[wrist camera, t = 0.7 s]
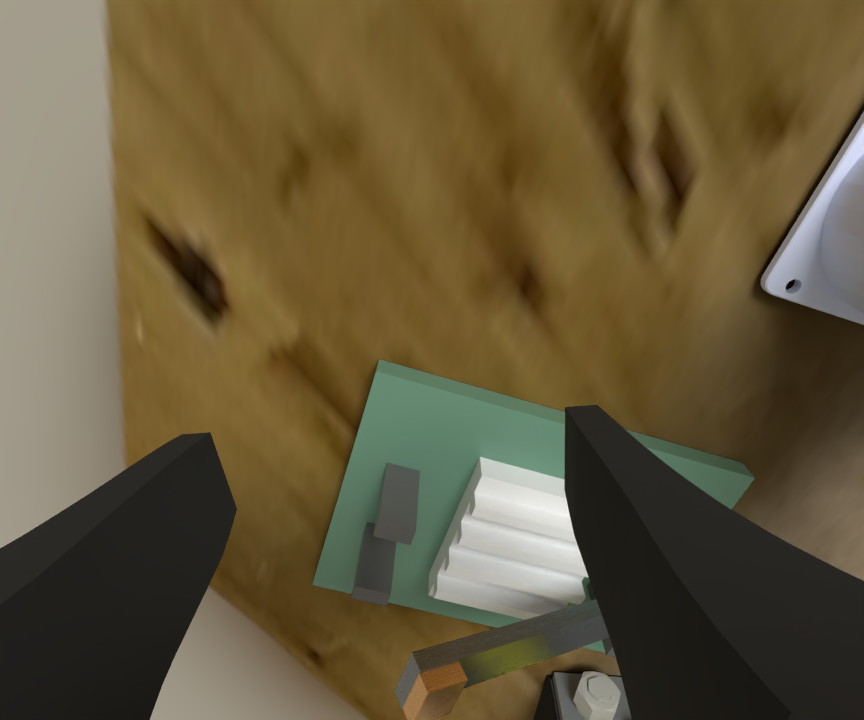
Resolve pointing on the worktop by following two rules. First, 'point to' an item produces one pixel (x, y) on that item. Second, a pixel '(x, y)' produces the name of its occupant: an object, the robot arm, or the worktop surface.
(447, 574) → the heatsink base
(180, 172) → the worktop surface
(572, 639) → the bar
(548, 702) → the electrical component
